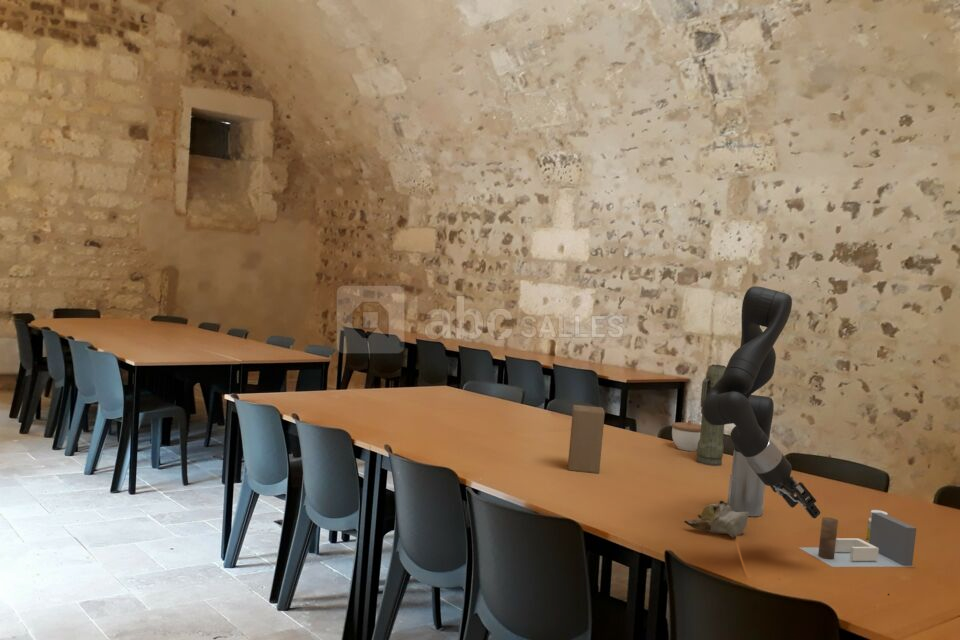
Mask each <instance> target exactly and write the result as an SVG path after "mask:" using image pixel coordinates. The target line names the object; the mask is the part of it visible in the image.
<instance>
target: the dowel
mask: <svg viewBox="0 0 960 640" xmlns="http://www.w3.org/2000/svg"><path fill="white" fill-rule="evenodd" d="M838 526H839V520H838V519H837V518H834V517H828V516H825V517H822V518H821V526H820V534H819V545H818V547H819V552H818V556H819V557H821V558H824V559H834V555H835V545H836V538H837V535H838Z"/></svg>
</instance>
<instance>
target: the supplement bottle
mask: <svg viewBox="0 0 960 640" xmlns="http://www.w3.org/2000/svg"><path fill="white" fill-rule="evenodd" d="M872 512H874V513H883V514H885V515H888V516H889V514H888V512H886V511H883V510H881V509H872V510H870V515H869V516H870V517H869V518H868V521H867V529H866V530H867V531H866V540H867V541H869V538H870V529H871V520H872Z"/></svg>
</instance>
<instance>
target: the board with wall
mask: <svg viewBox="0 0 960 640" xmlns="http://www.w3.org/2000/svg"><path fill="white" fill-rule="evenodd" d="M916 534H917V527H916V526H913V525H910V524H908V523H906V522H903V521H902V520H899V519H897V518H894V517H892V516H890V515H889V514H888V515H885V514H883V513H874V512H872V520H871V529H870V538H869V540H868V543H869V544H871V545H873V546H875V547H877V548H879V551H878V560H877V561H852V560H850V552H835V555H834V559H824V558H821V557H819V556H818V552H819V546H818V547H817V546H816V547H815V546H814V547H806V546H805V547H798V549H800V550H802V551H804V552H805V553H807V554H809V555H811V556H812V557H813V558H816V559H817V560H820V561H821V562H822V563H825V564H826V565H828V566H830V567H831V568H869V567H870V568H879V567H881V568H882V567H883V568H893V567H895V568H897V567H903V568H904V567H905V568H908V567H909V568H911V567H915V565H913V560H914V553H915V543H916Z"/></svg>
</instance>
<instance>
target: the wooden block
mask: <svg viewBox="0 0 960 640" xmlns="http://www.w3.org/2000/svg"><path fill="white" fill-rule="evenodd" d="M605 414H606V413H605V410H604V407H601V406H591V405H590V406H589V405H579V404H573V406H572V415H571V425H570V426H571V427H570V438H569V449H568V461H567V465H568V466H567V467H568V468H567V469H568V471H570V472H571V471H572V472H581V473H589V474H599V473H600V472H601V459H602V458H601V457H602V450H603V449H602V447H603V437H604V425H605Z"/></svg>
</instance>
